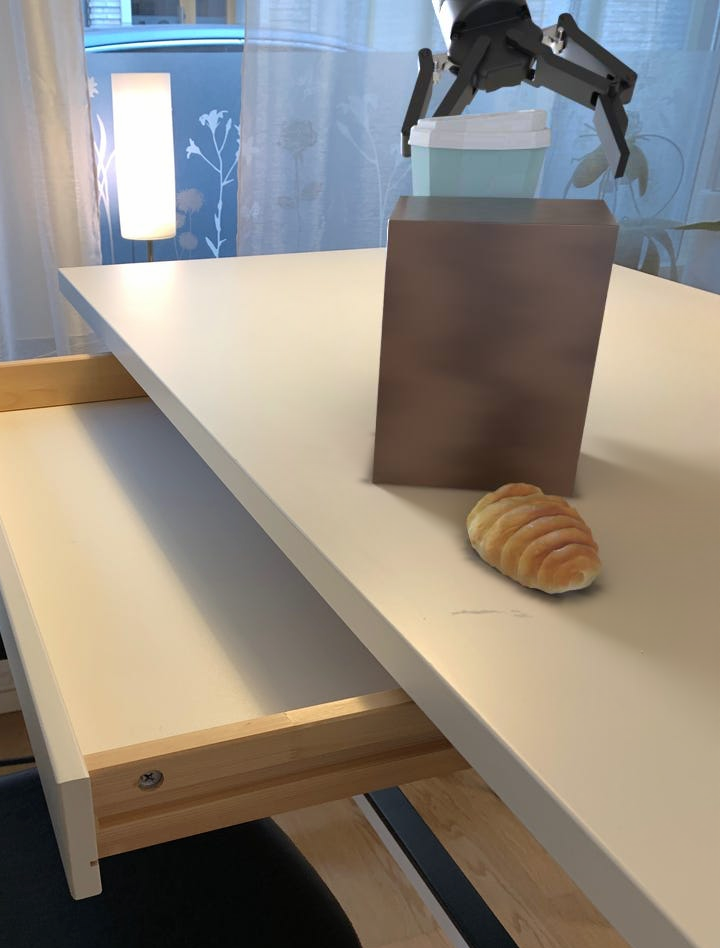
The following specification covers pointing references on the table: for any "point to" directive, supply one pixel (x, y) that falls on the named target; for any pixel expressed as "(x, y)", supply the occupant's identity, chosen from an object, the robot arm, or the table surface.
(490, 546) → the pastry
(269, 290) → the table surface
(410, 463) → the storage box
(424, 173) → the disposable coffee cup
